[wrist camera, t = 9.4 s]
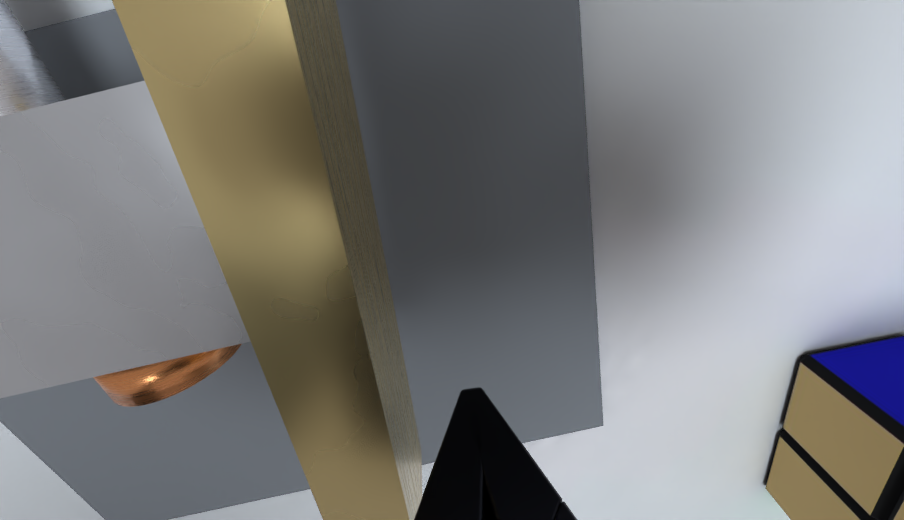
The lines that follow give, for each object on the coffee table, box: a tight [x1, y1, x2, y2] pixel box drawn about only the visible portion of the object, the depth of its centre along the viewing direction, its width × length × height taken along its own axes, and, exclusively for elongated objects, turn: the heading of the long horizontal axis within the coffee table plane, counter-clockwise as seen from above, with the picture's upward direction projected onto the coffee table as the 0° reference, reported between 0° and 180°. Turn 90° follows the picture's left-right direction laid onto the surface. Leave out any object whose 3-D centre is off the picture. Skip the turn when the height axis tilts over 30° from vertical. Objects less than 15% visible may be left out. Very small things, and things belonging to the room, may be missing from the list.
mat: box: [0, 0, 603, 520], centre depth 15 cm, size 20×24×1 cm
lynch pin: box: [0, 0, 241, 407], centre depth 10 cm, size 12×4×4 cm, turn 12°
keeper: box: [112, 0, 422, 520], centre depth 8 cm, size 15×2×9 cm, turn 5°
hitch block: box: [0, 81, 251, 398], centre depth 11 cm, size 6×9×4 cm, turn 102°
